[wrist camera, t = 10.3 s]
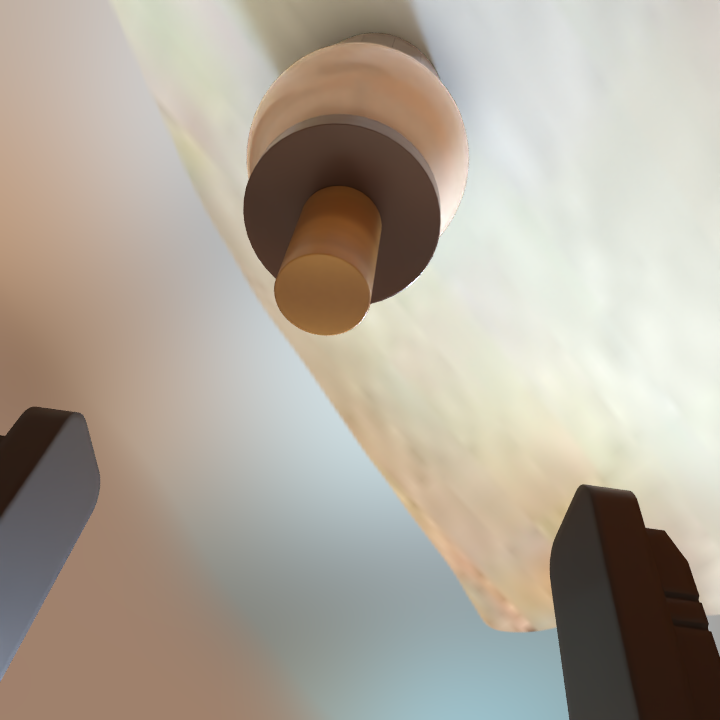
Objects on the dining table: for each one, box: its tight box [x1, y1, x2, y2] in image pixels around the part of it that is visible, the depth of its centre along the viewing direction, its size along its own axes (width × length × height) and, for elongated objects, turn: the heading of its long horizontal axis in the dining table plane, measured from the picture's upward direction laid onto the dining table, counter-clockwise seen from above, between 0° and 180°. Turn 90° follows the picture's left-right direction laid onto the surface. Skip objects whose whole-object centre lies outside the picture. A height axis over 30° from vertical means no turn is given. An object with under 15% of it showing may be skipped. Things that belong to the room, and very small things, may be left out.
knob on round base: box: [243, 114, 441, 335], centre depth 21 cm, size 7×7×6 cm
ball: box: [247, 42, 469, 237], centre depth 26 cm, size 9×9×9 cm
